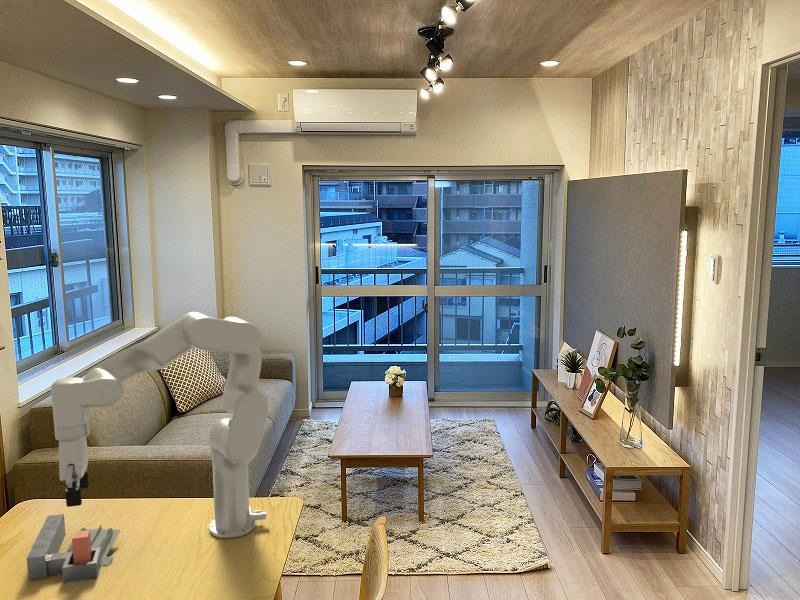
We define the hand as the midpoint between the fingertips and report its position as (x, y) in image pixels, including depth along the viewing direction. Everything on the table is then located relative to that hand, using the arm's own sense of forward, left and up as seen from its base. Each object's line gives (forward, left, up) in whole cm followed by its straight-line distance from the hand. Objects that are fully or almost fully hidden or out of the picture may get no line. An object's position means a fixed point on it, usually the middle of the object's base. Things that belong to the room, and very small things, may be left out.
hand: (78, 496), depth 158 cm
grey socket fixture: (+4, -9, -20) cm, 22 cm away
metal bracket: (0, -9, -21) cm, 23 cm away
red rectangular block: (0, 0, -20) cm, 20 cm away
